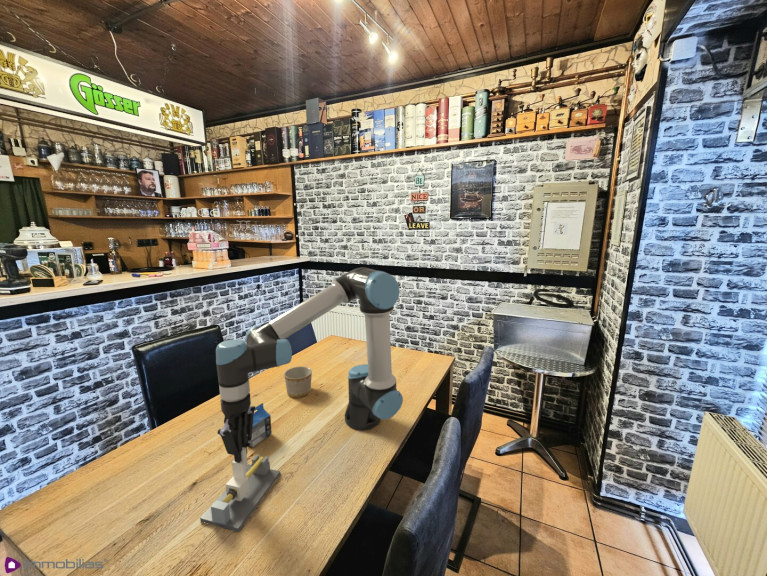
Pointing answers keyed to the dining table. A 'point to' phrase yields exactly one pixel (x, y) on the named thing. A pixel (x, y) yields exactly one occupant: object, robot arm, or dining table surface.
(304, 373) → the planter
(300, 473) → the dining table surface
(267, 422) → the label tape cartridge
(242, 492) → the white slider carriage
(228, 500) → the linear slide rail
